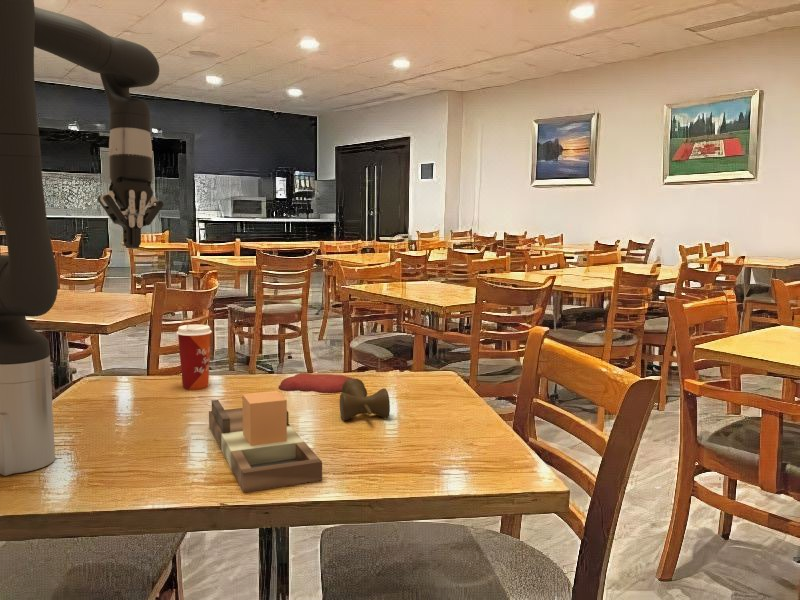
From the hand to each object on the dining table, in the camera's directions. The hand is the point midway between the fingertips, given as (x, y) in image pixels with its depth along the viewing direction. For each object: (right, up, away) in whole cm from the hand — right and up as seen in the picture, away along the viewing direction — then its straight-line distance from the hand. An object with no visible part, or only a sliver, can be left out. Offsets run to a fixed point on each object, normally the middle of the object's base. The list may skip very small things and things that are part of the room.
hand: (132, 248), depth 128 cm
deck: (+27, -36, -12) cm, 46 cm away
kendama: (+43, -33, +11) cm, 55 cm away
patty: (+31, -30, +32) cm, 54 cm away
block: (+28, -33, -14) cm, 45 cm away
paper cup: (+4, -30, +28) cm, 41 cm away
